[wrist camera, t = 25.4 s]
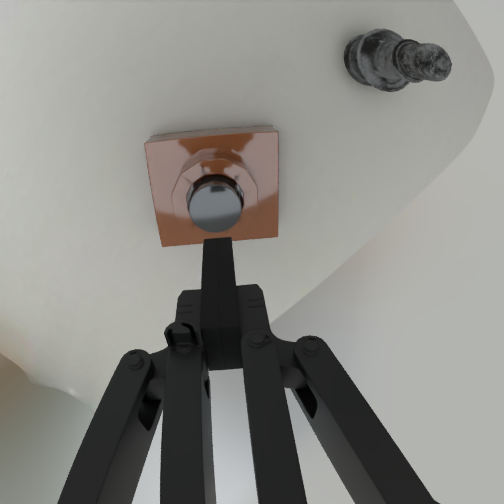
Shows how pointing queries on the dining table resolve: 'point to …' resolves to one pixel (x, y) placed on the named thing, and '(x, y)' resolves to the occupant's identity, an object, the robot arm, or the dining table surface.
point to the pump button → (215, 204)
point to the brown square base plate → (215, 164)
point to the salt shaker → (394, 60)
